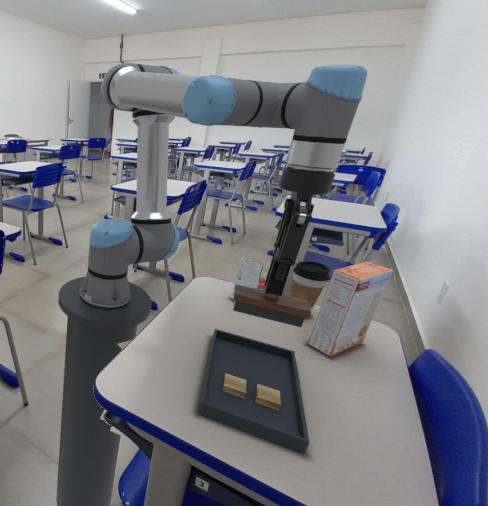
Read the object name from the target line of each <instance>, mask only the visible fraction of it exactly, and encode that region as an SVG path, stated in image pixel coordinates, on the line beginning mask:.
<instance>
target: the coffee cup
mask: <svg viewBox="0 0 488 506" xmlns="http://www.w3.org/2000/svg"><path fill="white" fill-rule="evenodd" d="M292 271H293V276H292V277H291V281H290V286H289V291H288V294H287V295H288V296H292V297H297V298H301V299H306V300H308V303H309V306H310V309H311V312H312V311H313V309H314V307H315V305H316V303H317V302H318V299H319V298H320V295H321V294H322V291H323V290H324V288H325V284H326V282H327V281H328V280H329V278H330V271H331V268H330V267H329V266H327V265H325V264H324V263H321V262H318V261H312V260H311V261H310V260H306V261H305V260H303V261H299V262H297V263H296V264H295V266H294V267H293V269H292ZM305 319H307V318H306V317H305Z"/></svg>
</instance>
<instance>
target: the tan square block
mask: <svg viewBox="0 0 488 506" xmlns="http://www.w3.org/2000/svg"><path fill="white" fill-rule="evenodd" d="M222 391H223V392H226V393H229V394H232V395H235V396H238V397H241V398H244V397H245V394H246V380H244V379H241V378H238V377H235V376H232V375H229V374H226V373H225V376H224V381H223V389H222Z"/></svg>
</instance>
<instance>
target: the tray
mask: <svg viewBox="0 0 488 506" xmlns="http://www.w3.org/2000/svg"><path fill="white" fill-rule="evenodd" d="M225 373H226V374H229V375H232V376H235V377H238V378H241V379H244V380H246V394H245V397H244V398H241V397H238V396H235V395H232V394H229V393H226V392H223V391H222V389H223V381H224V376H225ZM257 384H260V385H263V386H266V387H269V388H272V389H275V390H278V391H280V399H281V406H280V409H279V411H278V410H275V409H272V408H270V407H267V406H264V405H261V404H258V403H255V392H256V386H257ZM200 393H201V394H200V399H199V405H198V410H197V414H198V415H199V416H203V417H206V418H208V419H211V420H213V421H216V422H219V423H221V424H223V425H227V426H229V427H232V428H234V429H236V430H240V431H241V432H245V433H247V434H250V435H253V436H255V437H258V438H260V439H262V440H263V439H264V440H266V441H269V442H272V443H273V444H276V445H278V446H282V447H283V448H287V449H288V450H289V449H290V450H292V451H295V452H297V453H300V454H302V455H305V454H306V451H307V449H308V446H309V444H310V438H309V432H308V426H307V420H306V419H307V418H306V413H305V408H304V402H303V396H302V390H301V382H300V377H299V371H298V365H297V359H296V353H295V351H294V350H292V349H288V348H284V347H281V346H278V345H275V344H270V343H266V342H263V341H259V340H256V339H253V338H250V337H245V336H242V335H239V334H235V333H231V332H228V331H225V330H222V329H217V328H214V331H213V334H212V339H211V344H210V348H209V354H208V359H207V364H206V369H205V374H204V378H203V384H202V389H201V392H200Z"/></svg>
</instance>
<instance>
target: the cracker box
mask: <svg viewBox="0 0 488 506" xmlns="http://www.w3.org/2000/svg"><path fill="white" fill-rule="evenodd" d="M393 272H394V269H392V268H389V267H385V266H382V265H379V264H377V263H373V262H371V261H364V262H360V263H356V264H352V265H348V266H344V267H341V268H340V267H339V268H336V269H333V271H332V274H331V277H330V280H329V283H328V285H327V287H326V291H325V294H324V297H323V299H322V303H321V306H320V308H319V311H318V314H317V316H316V320H315V322H314V325H313V327H312V331H311V334H310V337H309V339H308V342H307V345H308V346H310V347H312V348H313V349H315V350H317V351H318V352H321V353H322V354H324V355H326V356H327V357H329V358H332V357H334V356H336V355H339V354H341V353H344V352H346V351H348V350H350V349H353V348H355V347H357V346H360V345H362V344H363V343H364V340H365V338H366V335H367V333H368V331H369V328H370V326H371V324H372V322H373V319H374V317H375V314H376V312H377V310H378V307H379V305H380V303H381V300H382V298H383V295H384V294H385V291H386V289H387V286H388V284H389V282H390V279H391V277H392V275H393Z"/></svg>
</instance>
